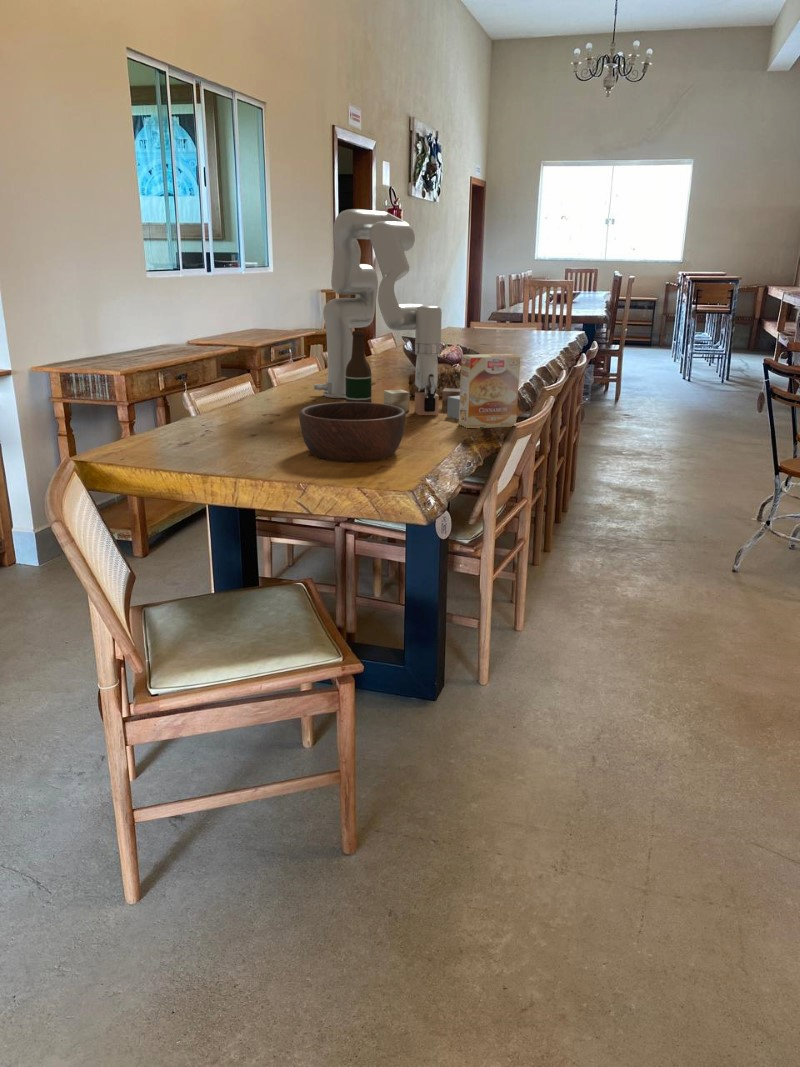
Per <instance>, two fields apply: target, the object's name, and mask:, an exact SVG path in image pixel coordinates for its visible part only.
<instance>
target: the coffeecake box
mask: <svg viewBox="0 0 800 1067" xmlns="http://www.w3.org/2000/svg"><path fill="white" fill-rule="evenodd" d="M520 368H521V356H520V355H517V354H512V353H489V354H488V353H487V354H486V353H484V354H483V353H481V354H461V364H460V383H459V389H460V405H459V420H458V425H459V424H460V425H459V426H461V425H462V427H463V426H464V427H463V428H465V427H466V428H465V429H467V428H477V429H481V428H480V427H484V428H483V429H488V428H489V429H490V428H494V429H495V428H512V426H513V425H514V424H516V425H517V414H518V400H519V399H518V398H519V383H520V370H521V369H520Z"/></svg>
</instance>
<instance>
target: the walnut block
mask: <svg viewBox="0 0 800 1067" xmlns="http://www.w3.org/2000/svg"><path fill="white" fill-rule="evenodd" d="M451 396H460V388H459V389H452V388H444V390H443V392H442V397H441V398H442V399H441V401H442V402H441V411H446V410H447V402H448V397H451Z"/></svg>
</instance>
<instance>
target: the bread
mask: <svg viewBox="0 0 800 1067" xmlns="http://www.w3.org/2000/svg"><path fill="white" fill-rule="evenodd" d="M415 374H416V369H415V370H413V371H412V372H410V374H409V376H408V389H409V390H408V392H410V397H414V396H415V393H419V392H418V390H419V388H418V387H417V386H416V385H415ZM460 381H461V371H460V370H458V368H456V367H455V366H452V365H451V364H448V363H438V381H437V388H436V389H435V393H436V394H437V395H439V398H442V397H441V396H442V392H443V390H444V388H452V389H460Z"/></svg>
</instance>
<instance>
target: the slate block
mask: <svg viewBox="0 0 800 1067" xmlns="http://www.w3.org/2000/svg"><path fill="white" fill-rule="evenodd" d="M459 405H460V396H451V397H448V402H447V411H446V417H447V416H448V417H447V418H450V417H452V418H451V419H454V418H456V419H455V420H458V419H459Z"/></svg>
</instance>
